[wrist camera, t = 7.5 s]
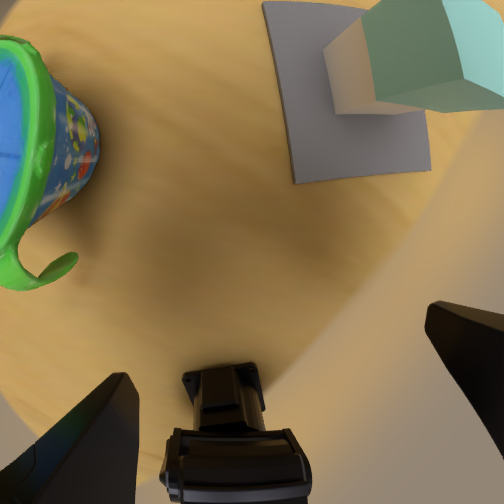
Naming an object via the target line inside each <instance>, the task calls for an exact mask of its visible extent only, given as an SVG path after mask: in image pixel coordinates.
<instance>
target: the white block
mask: <svg viewBox="0 0 504 504" xmlns="http://www.w3.org/2000/svg"><path fill="white" fill-rule="evenodd" d="M323 54H324V58H325V63H326V67H327V72H328V77H329V81H330V86H331V92H332V97H333V102H334V108H335V114H336V115H337V114H381V115H396V114H402V113H407V112H413V111H419V110H426V109H423V108H418V107H413V106H407V105H402V104H395V103H389V102H382V101H376V98H375V90H374V83H373V77H372V71H371V65H370V59H369V54H368V49H367V44H366V39H365V34H364V30H363V26H362V22H361V18H358V19H357V20H356V21H355V22H354V23H352V24H351V25H350V26H349V27H348V28H347V29H345V30H344V31H343V32H342V33H341V34H340V35H339V36H338V37H336V38H335V39H334V40H333V41H332V42H331V43H330V44H329V45H328V46H327V47H325V48H324V49H323Z"/></svg>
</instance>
